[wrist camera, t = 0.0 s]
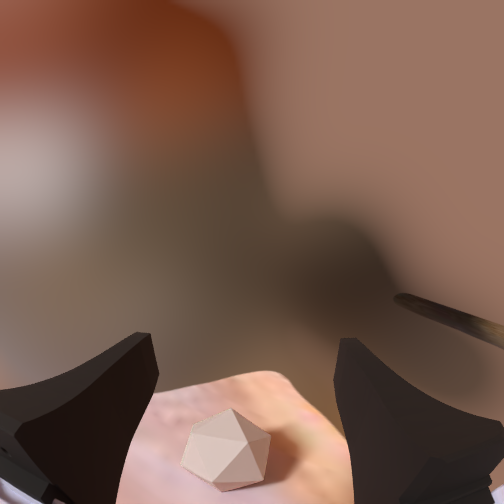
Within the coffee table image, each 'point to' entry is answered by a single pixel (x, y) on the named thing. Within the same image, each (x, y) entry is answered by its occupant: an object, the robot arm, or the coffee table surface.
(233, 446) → the die
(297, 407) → the coffee table surface
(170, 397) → the coffee table surface
